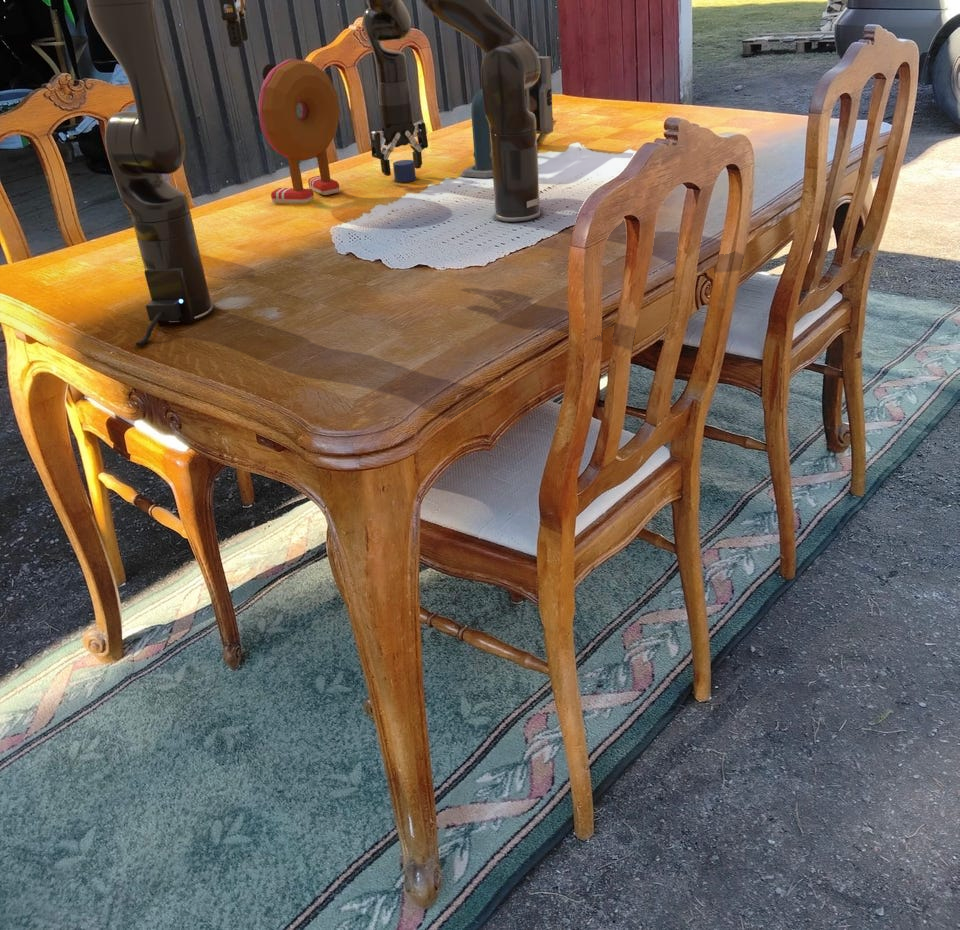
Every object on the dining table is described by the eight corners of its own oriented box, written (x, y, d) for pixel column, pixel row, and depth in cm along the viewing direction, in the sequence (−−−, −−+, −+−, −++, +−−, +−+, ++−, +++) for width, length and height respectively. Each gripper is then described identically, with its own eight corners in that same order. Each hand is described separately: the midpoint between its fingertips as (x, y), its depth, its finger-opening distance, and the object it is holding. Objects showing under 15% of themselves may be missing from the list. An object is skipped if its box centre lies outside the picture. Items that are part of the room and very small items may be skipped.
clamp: (490, 178, 228) (484, 82, 217) (458, 176, 232) (450, 81, 221) (553, 143, 254) (550, 56, 243) (523, 142, 258) (519, 56, 247)
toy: (329, 182, 236) (308, 50, 220) (358, 186, 230) (339, 51, 215) (260, 205, 222) (234, 66, 207) (289, 210, 216) (264, 67, 201)
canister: (416, 176, 235) (414, 159, 233) (415, 181, 231) (413, 164, 229) (395, 178, 235) (393, 160, 233) (394, 183, 231) (392, 165, 229)
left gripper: (238, -60, 159) (257, 46, 167) (247, -63, 171) (264, 36, 179) (192, -56, 158) (213, 50, 167) (204, -59, 171) (223, 40, 179)
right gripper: (412, 94, 230) (419, 163, 238) (360, 104, 223) (369, 175, 231) (429, 97, 224) (435, 168, 233) (376, 108, 218) (385, 180, 226)
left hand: (239, 43), depth 173 cm, fingers open, 8 cm apart
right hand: (402, 171), depth 232 cm, fingers open, 8 cm apart
